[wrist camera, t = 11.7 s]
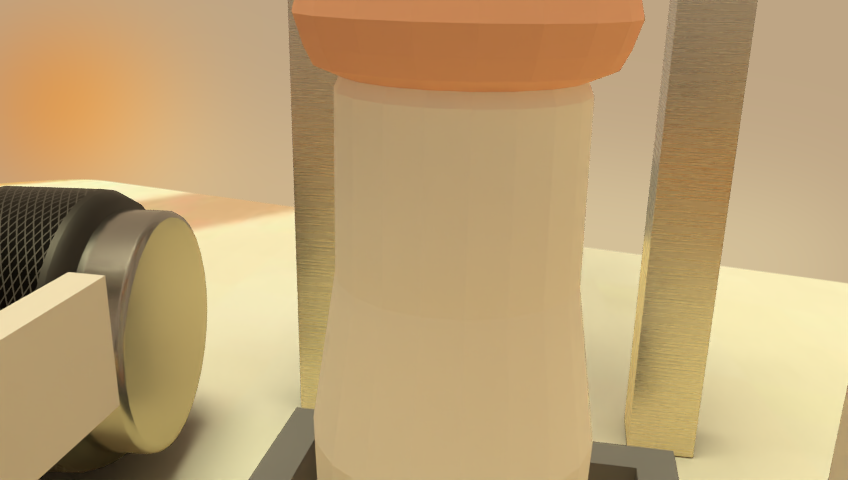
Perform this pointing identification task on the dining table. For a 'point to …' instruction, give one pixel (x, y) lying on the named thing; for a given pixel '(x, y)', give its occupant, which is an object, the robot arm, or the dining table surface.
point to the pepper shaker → (459, 233)
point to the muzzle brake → (117, 303)
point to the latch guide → (665, 222)
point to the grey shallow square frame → (608, 474)
